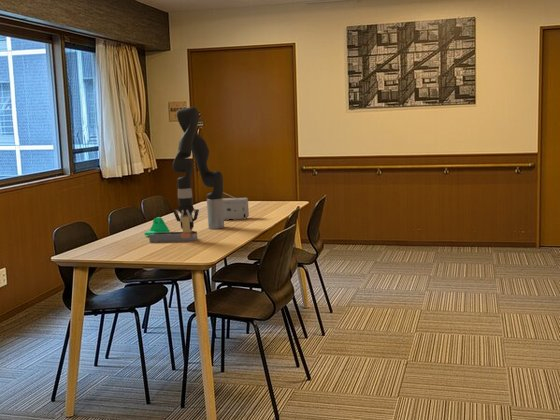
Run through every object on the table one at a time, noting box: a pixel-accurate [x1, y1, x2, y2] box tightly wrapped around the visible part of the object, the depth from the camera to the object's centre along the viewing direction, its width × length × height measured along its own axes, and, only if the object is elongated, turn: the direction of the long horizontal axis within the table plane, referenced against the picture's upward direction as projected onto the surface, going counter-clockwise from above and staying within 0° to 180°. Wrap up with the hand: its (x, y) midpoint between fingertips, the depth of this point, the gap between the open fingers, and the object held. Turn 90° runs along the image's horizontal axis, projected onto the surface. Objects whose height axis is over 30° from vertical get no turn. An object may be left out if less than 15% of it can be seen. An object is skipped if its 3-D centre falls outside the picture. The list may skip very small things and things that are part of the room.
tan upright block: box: [182, 215, 193, 234], centre depth 357 cm, size 4×4×11 cm
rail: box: [148, 230, 198, 243], centre depth 359 cm, size 8×24×4 cm, turn 81°
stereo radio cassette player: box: [223, 191, 250, 221], centre depth 424 cm, size 21×8×20 cm, turn 84°
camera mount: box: [144, 216, 171, 236], centre depth 376 cm, size 12×8×10 cm, turn 69°
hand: (187, 228), depth 357 cm, fingers closed on tan upright block, 4 cm apart
